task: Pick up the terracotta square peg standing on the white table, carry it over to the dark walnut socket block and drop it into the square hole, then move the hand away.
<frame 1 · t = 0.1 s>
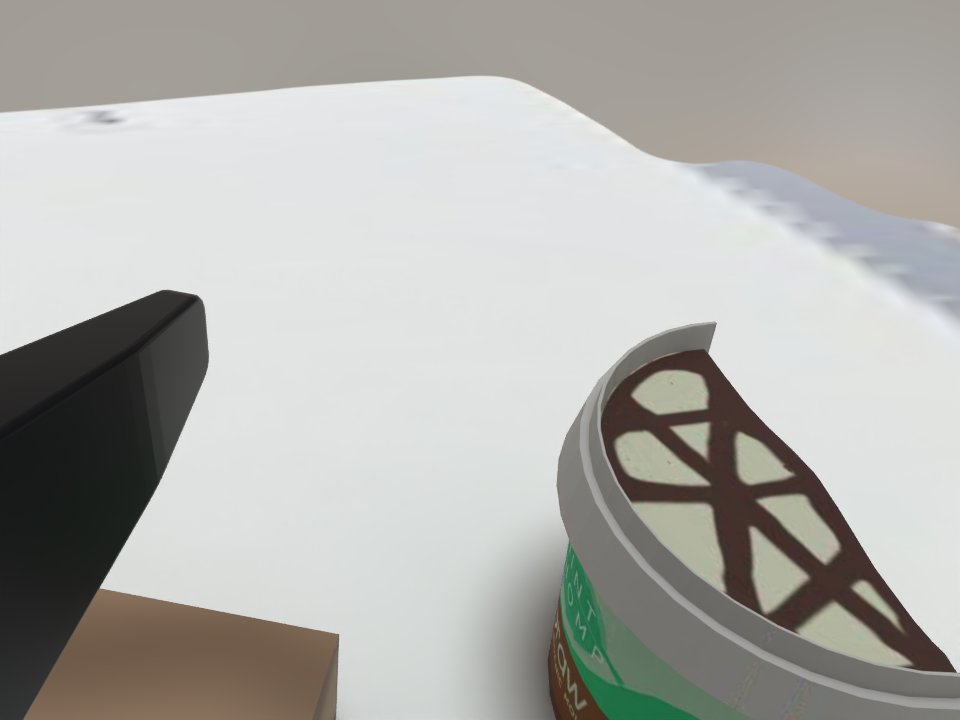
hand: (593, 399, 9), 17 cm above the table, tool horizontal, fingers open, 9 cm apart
food container: (612, 709, 24), on the table
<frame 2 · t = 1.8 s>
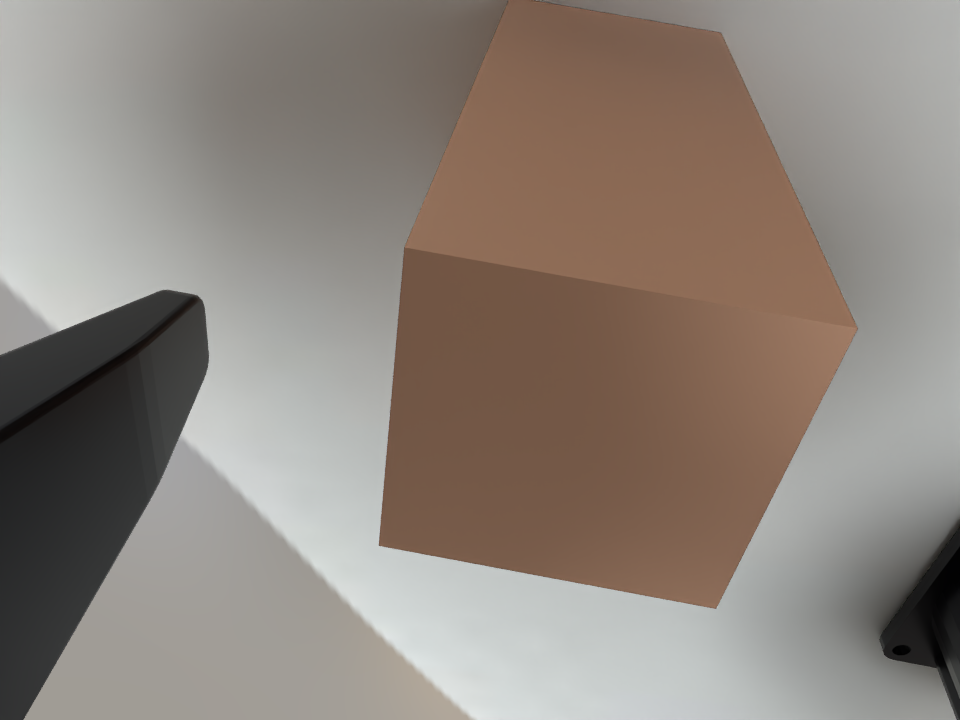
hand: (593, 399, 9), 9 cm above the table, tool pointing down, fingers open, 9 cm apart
peg: (592, 118, 16), on the table
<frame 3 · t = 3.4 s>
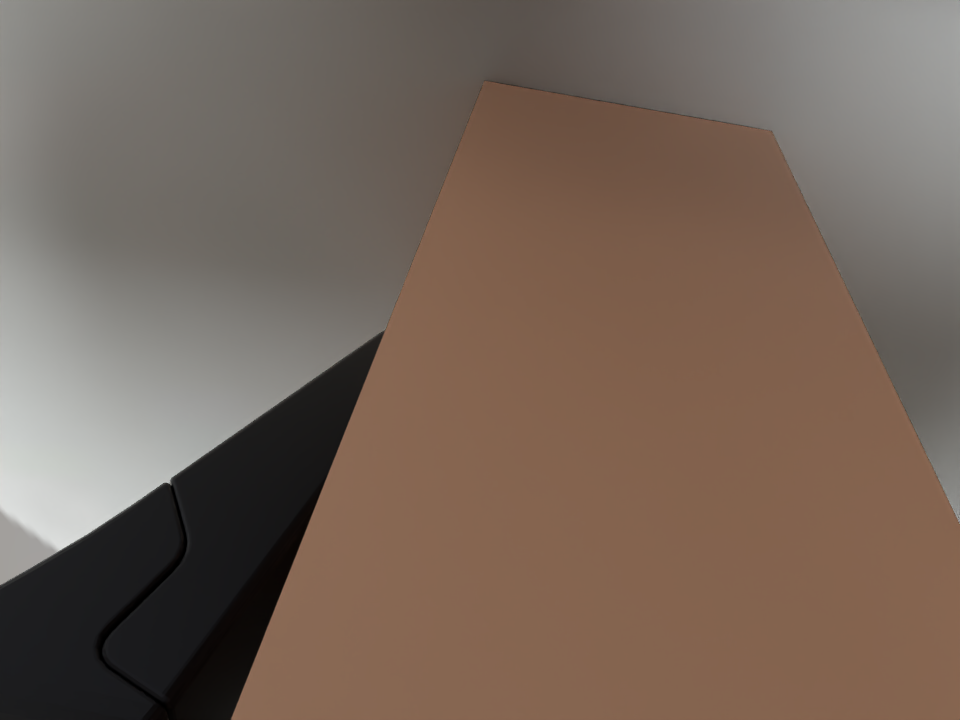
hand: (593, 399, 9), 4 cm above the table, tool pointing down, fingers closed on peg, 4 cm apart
peg: (595, 234, 12), on the table, touching gripper
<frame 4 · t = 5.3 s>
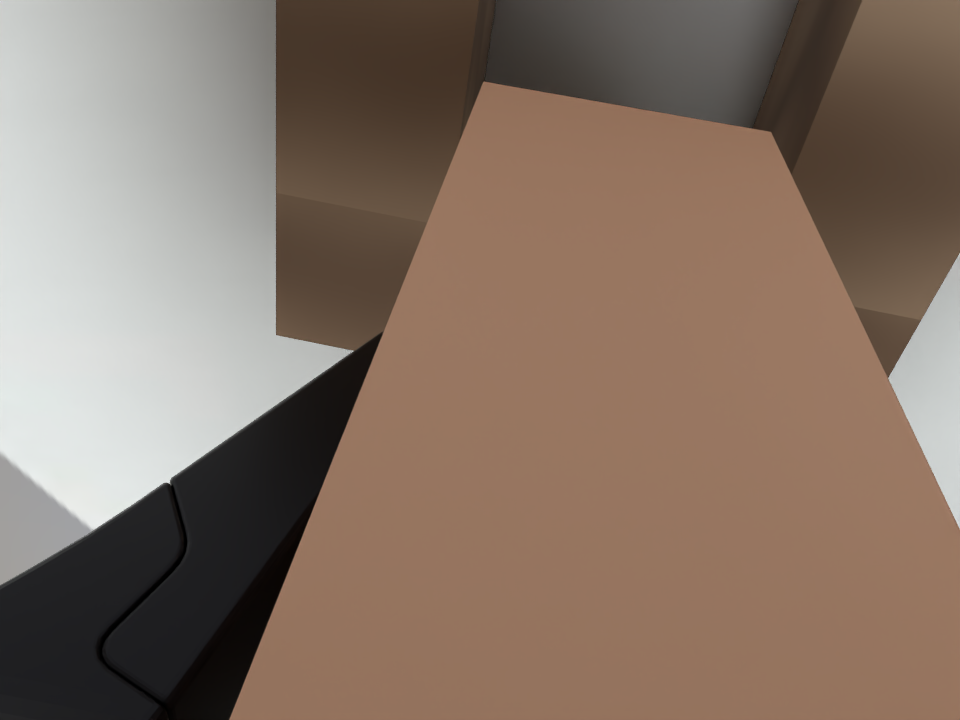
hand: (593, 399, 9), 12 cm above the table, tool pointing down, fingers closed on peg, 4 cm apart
socket block: (631, 51, 18), on the table
peg: (594, 235, 12), point 8 cm above the table, touching gripper
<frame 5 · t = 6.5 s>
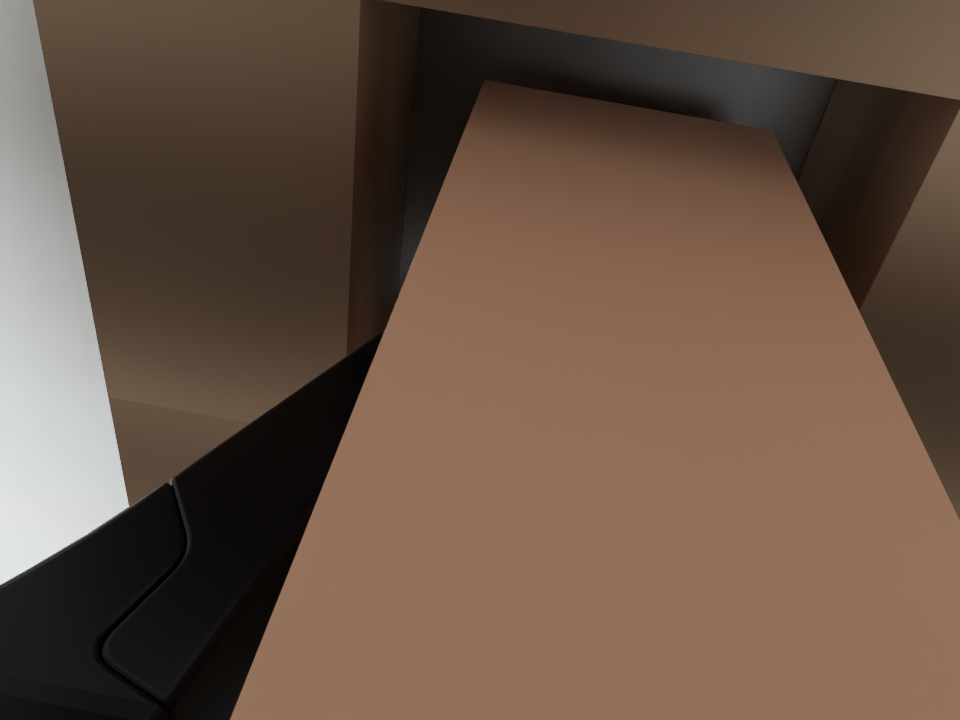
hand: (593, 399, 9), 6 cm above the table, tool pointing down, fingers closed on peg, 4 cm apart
socket block: (596, 179, 14), on the table
peg: (595, 234, 12), point 2 cm above the table, touching gripper
when the fingers open (5 cm above the table, at t = 7.3 s): peg drops 1 cm, resting in socket block.
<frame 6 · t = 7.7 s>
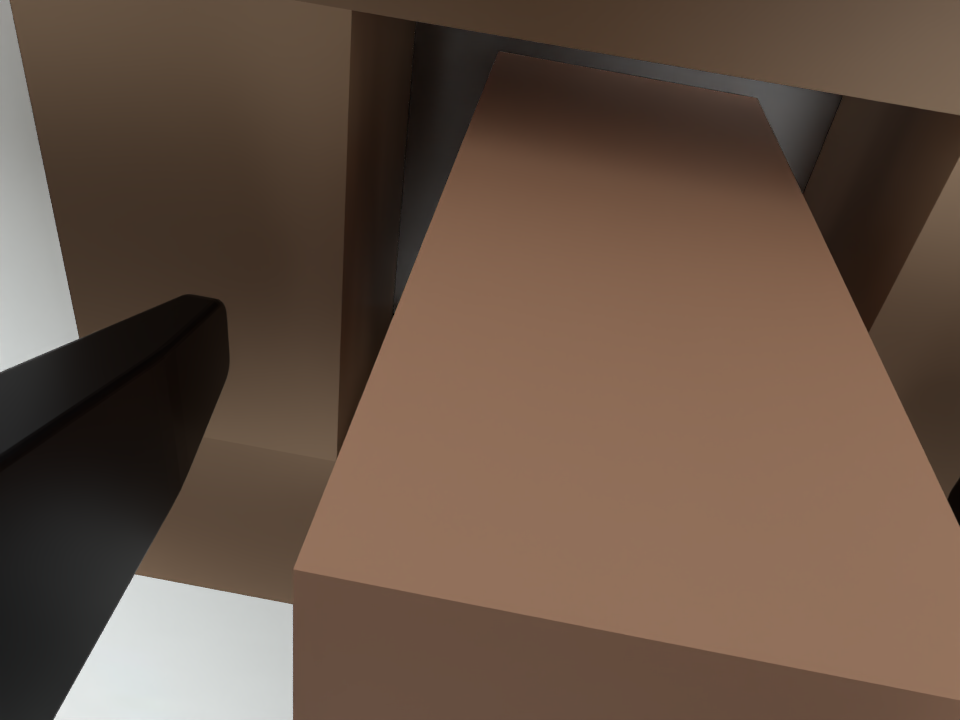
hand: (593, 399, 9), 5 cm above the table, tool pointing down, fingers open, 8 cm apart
socket block: (596, 192, 13), on the table
peg: (597, 194, 13), resting in socket block
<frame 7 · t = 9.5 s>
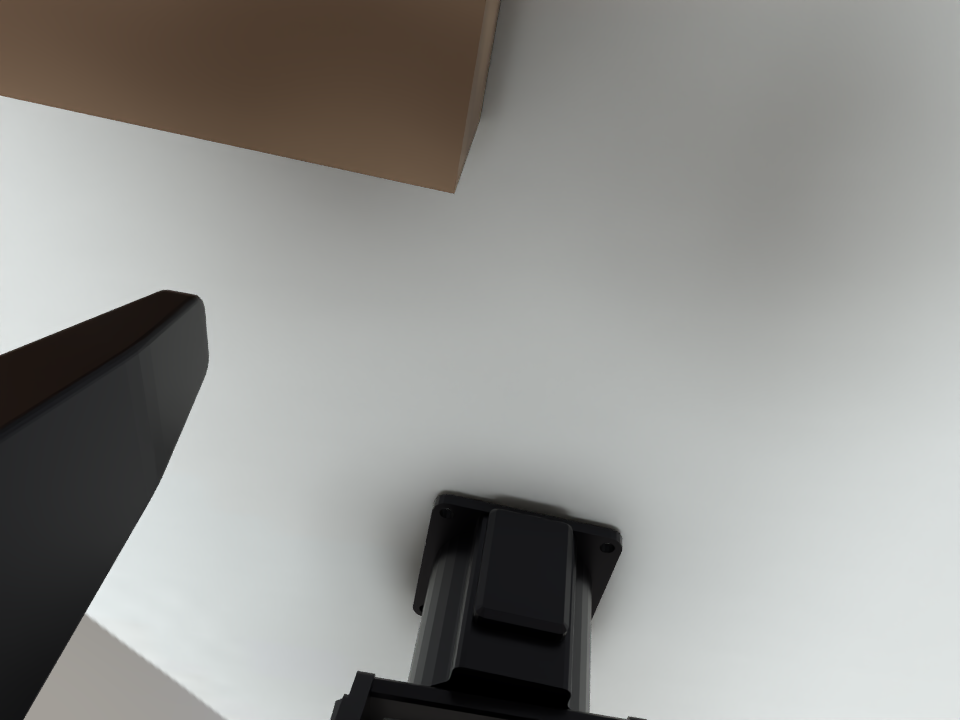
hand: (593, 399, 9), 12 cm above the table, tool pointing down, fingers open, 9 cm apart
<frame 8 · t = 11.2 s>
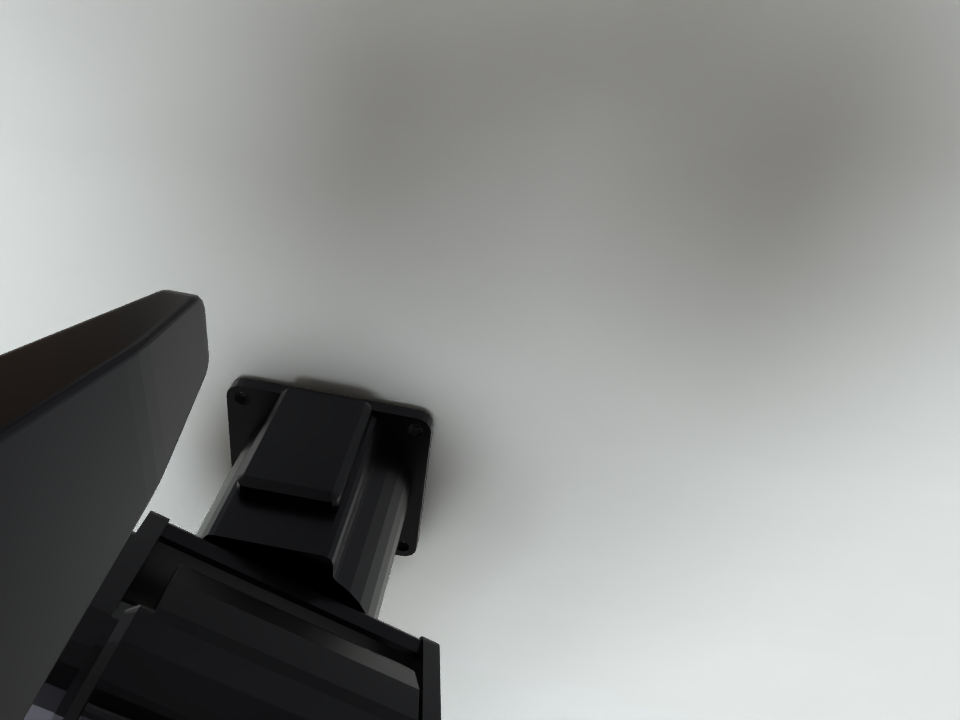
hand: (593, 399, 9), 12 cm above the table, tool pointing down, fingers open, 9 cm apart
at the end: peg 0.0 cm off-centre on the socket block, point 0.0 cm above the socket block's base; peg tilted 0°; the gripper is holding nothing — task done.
